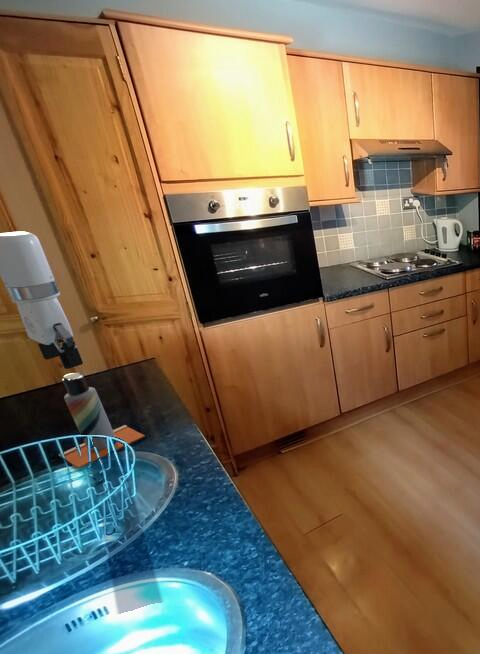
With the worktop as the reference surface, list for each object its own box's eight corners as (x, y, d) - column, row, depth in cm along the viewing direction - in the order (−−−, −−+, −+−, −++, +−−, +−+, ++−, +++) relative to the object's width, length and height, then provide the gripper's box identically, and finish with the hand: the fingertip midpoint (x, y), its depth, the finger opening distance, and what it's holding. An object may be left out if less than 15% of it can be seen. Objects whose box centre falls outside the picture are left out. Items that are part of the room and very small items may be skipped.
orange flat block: (78, 468, 106) (77, 466, 106) (58, 455, 110) (57, 453, 110) (145, 436, 117) (144, 434, 117) (124, 426, 122) (124, 424, 121)
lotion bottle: (93, 440, 115) (62, 371, 107) (120, 435, 117) (92, 367, 109) (83, 453, 110) (49, 382, 102) (111, 448, 112) (81, 378, 104)
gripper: (-7, 289, 98) (25, 360, 105) (28, 302, 91) (60, 377, 97) (39, 281, 104) (66, 348, 111) (75, 292, 97) (102, 363, 104)
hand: (63, 361), depth 104 cm, fingers open, 9 cm apart
